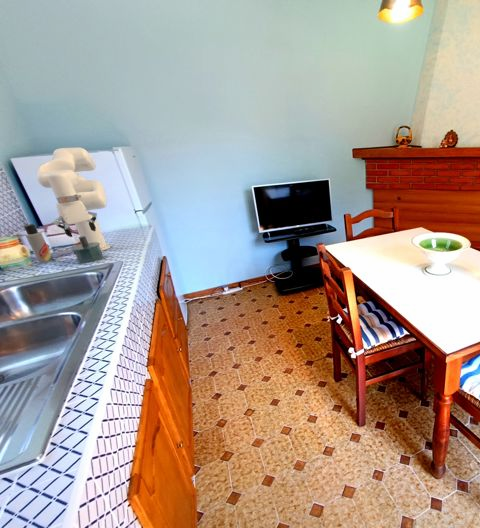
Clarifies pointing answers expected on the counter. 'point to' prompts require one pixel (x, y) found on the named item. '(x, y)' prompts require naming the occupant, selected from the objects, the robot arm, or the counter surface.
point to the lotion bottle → (38, 244)
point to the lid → (85, 244)
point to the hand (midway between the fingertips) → (82, 233)
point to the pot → (89, 255)
